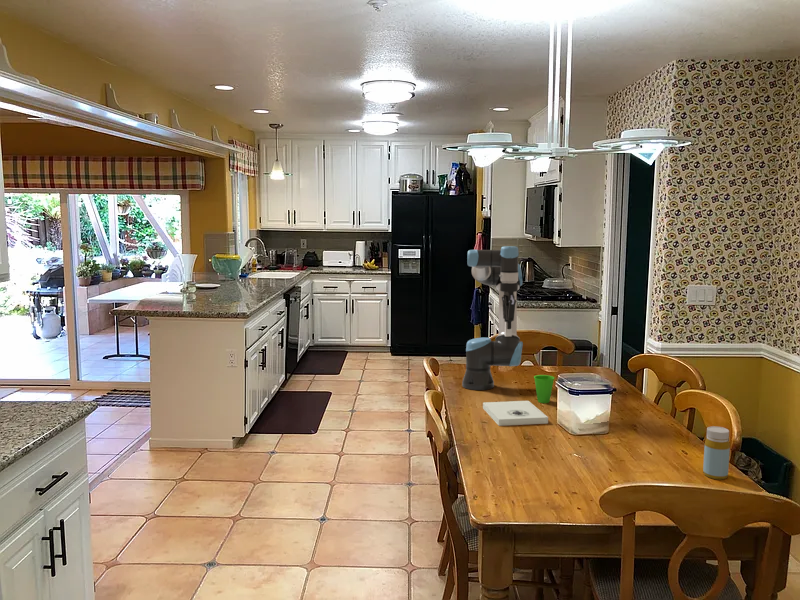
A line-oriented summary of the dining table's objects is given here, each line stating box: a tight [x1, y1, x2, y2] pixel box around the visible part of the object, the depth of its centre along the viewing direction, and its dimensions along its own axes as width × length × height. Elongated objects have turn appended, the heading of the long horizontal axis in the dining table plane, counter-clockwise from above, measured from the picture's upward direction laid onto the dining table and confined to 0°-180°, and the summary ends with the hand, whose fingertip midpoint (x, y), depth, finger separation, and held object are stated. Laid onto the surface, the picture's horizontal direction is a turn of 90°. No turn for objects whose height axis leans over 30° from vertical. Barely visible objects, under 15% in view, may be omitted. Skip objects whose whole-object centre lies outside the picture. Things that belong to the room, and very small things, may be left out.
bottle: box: [702, 425, 731, 481], centre depth 202 cm, size 7×7×15 cm
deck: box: [482, 400, 549, 427], centre depth 266 cm, size 24×20×2 cm
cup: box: [533, 374, 556, 404], centre depth 286 cm, size 9×9×11 cm
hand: (508, 336), depth 283 cm, fingers closed
